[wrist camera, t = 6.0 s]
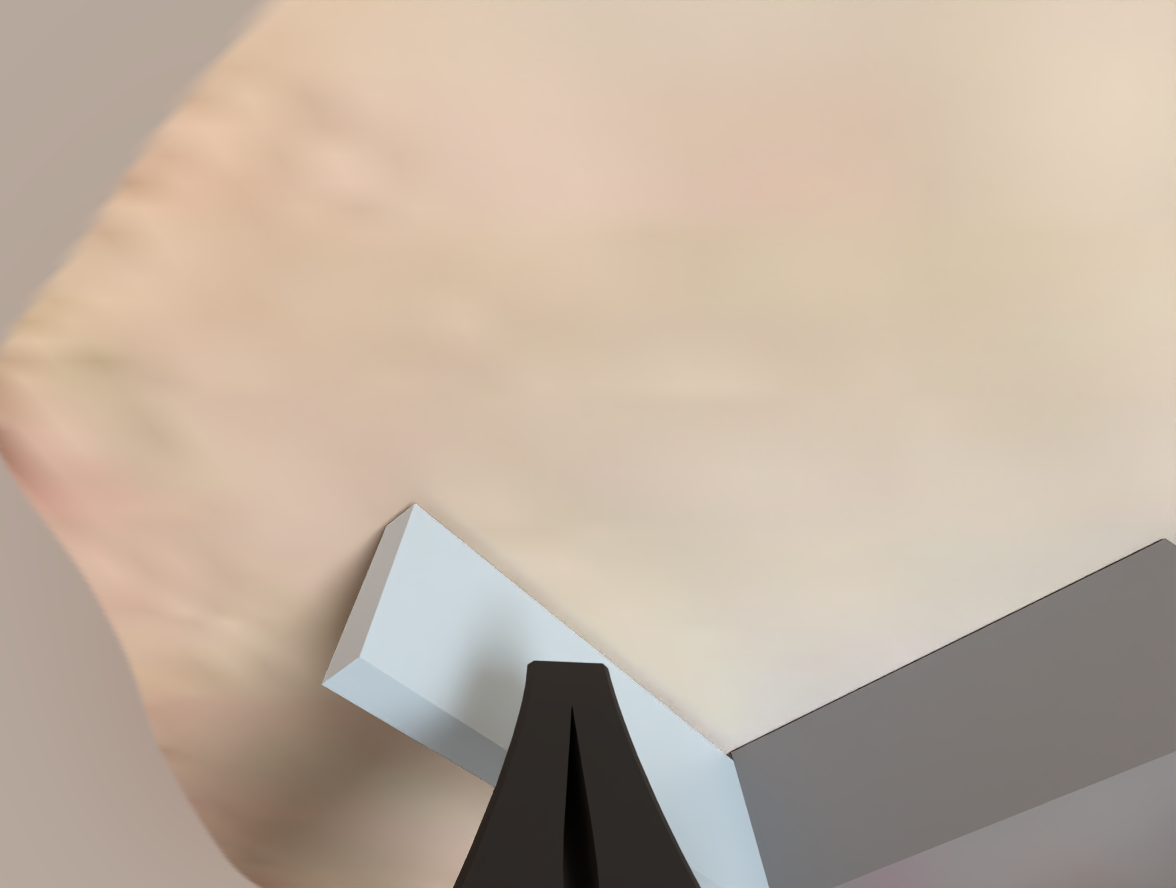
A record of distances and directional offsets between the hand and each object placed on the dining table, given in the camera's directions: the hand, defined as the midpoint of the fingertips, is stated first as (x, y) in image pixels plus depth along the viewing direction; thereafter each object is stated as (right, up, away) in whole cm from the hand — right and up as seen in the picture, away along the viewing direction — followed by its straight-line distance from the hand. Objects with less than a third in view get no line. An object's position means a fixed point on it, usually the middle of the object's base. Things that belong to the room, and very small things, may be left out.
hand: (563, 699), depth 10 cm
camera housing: (+14, -5, +9) cm, 18 cm away
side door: (0, -2, +6) cm, 7 cm away
